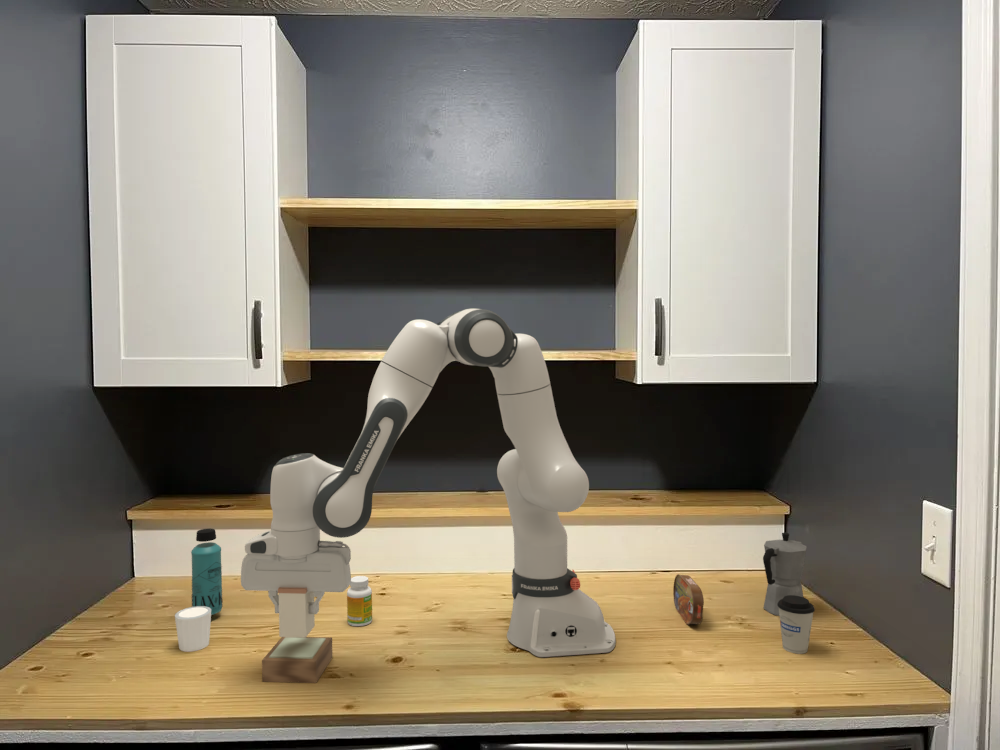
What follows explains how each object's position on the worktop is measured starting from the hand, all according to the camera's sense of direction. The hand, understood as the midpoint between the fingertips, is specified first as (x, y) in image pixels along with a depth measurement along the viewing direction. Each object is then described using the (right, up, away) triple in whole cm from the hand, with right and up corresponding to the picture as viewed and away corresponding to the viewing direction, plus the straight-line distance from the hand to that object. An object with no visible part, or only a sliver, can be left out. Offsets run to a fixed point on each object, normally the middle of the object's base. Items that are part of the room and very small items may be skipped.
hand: (297, 612), depth 129 cm
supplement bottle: (+7, -10, +22) cm, 25 cm away
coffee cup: (+98, -10, +8) cm, 99 cm away
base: (0, -11, +1) cm, 11 cm away
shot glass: (-24, -11, +11) cm, 29 cm away
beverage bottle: (-28, -10, +25) cm, 39 cm away
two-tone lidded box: (0, -4, 0) cm, 4 cm away
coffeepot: (+103, -9, +27) cm, 107 cm away
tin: (+81, -10, +24) cm, 85 cm away
